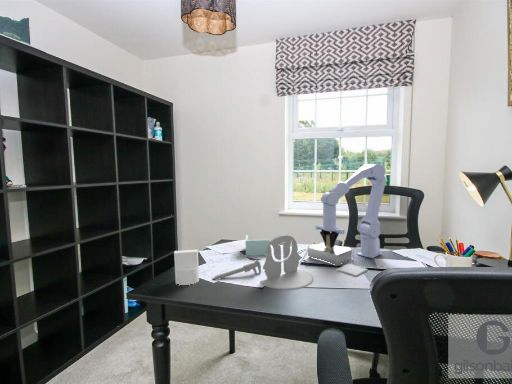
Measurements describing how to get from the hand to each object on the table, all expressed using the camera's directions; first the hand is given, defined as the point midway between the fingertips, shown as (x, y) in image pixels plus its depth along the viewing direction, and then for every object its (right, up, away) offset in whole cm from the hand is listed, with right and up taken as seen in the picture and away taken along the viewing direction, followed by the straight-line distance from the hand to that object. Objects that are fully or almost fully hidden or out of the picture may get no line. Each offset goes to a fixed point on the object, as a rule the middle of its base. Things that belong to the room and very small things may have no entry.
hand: (329, 246), depth 130 cm
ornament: (-21, -9, -24) cm, 33 cm away
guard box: (0, -6, +1) cm, 6 cm away
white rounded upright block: (-62, -10, -21) cm, 66 cm away
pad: (+5, -7, -15) cm, 17 cm away
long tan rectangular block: (0, -4, 0) cm, 4 cm away
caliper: (-42, -9, -18) cm, 47 cm away
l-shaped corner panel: (-34, -6, +14) cm, 37 cm away
